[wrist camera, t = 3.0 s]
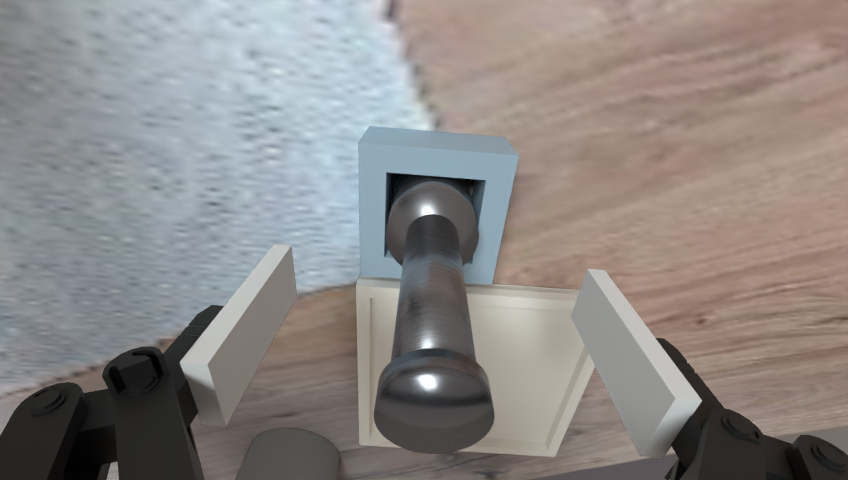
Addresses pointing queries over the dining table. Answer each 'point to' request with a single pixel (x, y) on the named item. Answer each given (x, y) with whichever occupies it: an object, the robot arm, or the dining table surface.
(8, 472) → the robot arm
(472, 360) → the pestle
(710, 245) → the dining table surface
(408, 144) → the ring
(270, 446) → the coffee mug
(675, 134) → the dining table surface
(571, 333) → the tray
